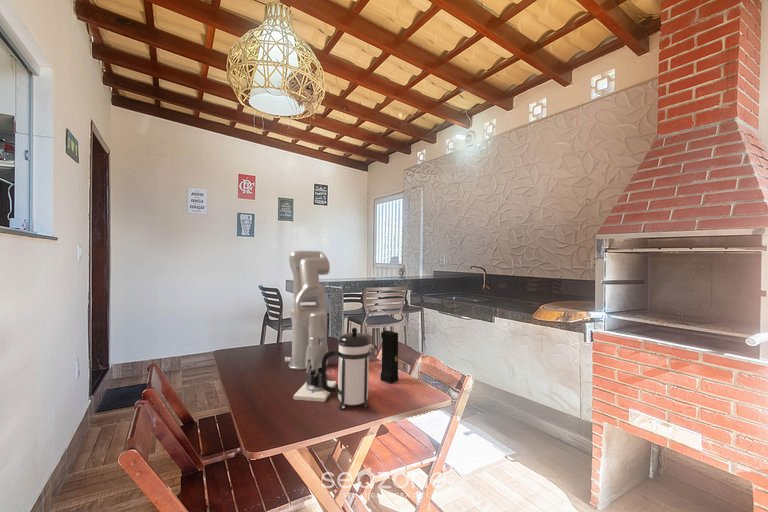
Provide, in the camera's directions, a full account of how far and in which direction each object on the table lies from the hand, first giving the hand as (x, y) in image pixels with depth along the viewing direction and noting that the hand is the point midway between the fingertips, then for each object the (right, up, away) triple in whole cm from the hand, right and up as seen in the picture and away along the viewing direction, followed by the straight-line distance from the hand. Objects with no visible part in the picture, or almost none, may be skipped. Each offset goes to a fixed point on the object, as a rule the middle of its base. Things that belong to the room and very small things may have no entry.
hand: (317, 383), depth 146 cm
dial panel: (0, -3, 0) cm, 3 cm away
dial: (0, -1, 0) cm, 1 cm away
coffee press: (+15, -4, -12) cm, 20 cm away
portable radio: (+32, -4, +13) cm, 35 cm away
